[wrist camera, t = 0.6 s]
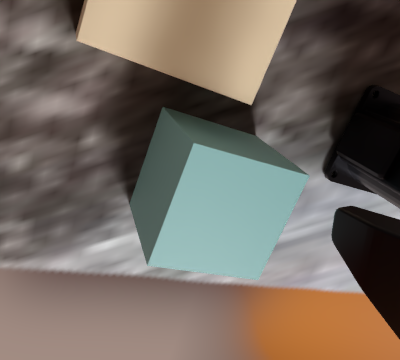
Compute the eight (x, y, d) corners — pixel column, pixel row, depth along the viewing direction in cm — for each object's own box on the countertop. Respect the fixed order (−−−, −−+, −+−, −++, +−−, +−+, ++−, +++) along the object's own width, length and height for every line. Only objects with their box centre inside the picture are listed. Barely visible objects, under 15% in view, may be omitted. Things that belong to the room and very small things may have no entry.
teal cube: (255, 135, 23) (309, 175, 18) (218, 220, 25) (258, 280, 20) (162, 106, 20) (193, 143, 15) (129, 203, 22) (147, 265, 17)
